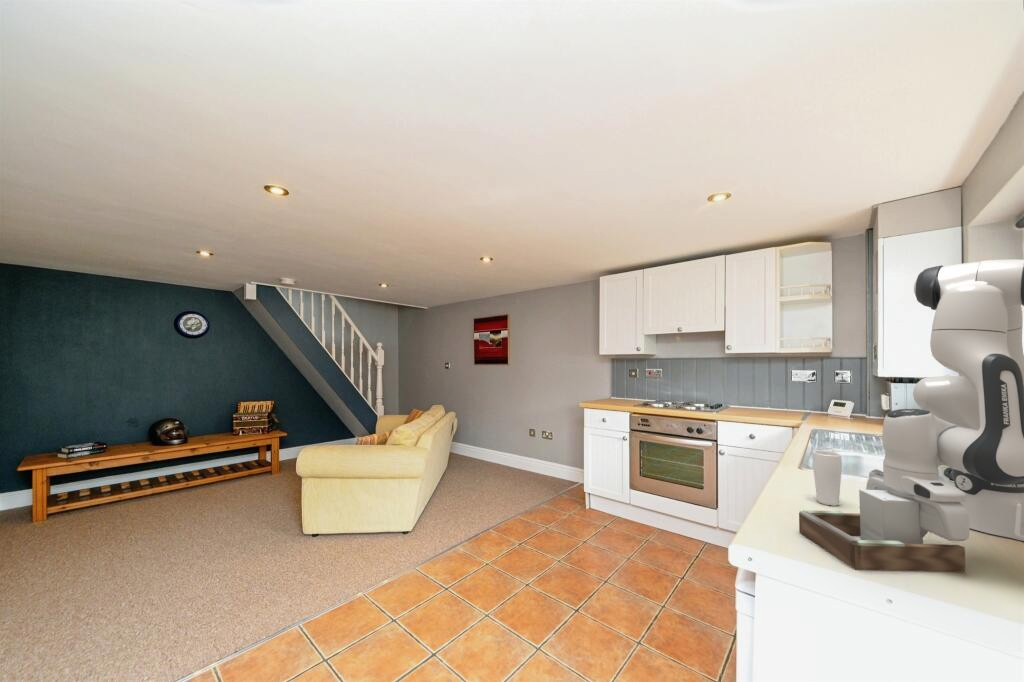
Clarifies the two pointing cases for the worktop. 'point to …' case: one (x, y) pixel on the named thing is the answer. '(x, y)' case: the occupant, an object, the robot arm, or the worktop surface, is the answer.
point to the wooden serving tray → (875, 546)
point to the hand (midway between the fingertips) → (912, 541)
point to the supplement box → (888, 517)
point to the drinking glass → (827, 476)
